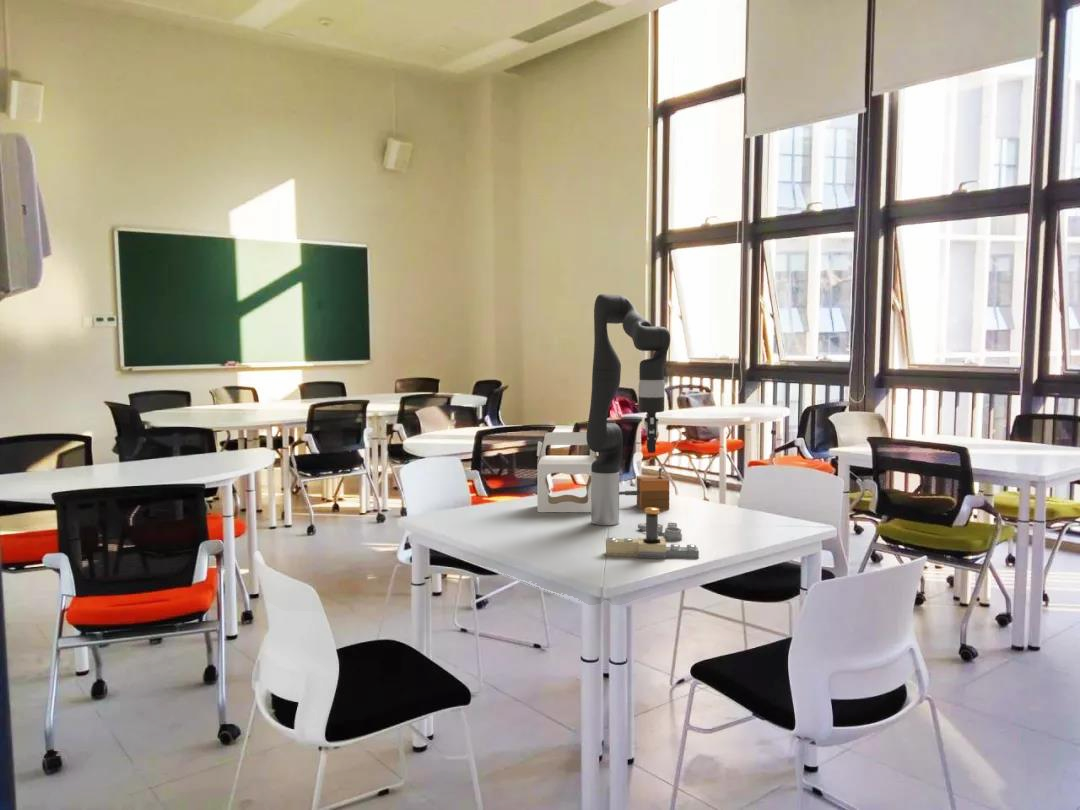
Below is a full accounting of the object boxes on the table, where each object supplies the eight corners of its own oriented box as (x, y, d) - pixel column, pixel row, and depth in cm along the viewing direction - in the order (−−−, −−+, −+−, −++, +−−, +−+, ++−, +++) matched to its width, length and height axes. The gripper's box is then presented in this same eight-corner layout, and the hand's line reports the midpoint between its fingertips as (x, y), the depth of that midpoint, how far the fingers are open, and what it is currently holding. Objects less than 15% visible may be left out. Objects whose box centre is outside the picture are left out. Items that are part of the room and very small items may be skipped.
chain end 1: (606, 550, 232) (606, 535, 231) (664, 552, 230) (664, 536, 230) (605, 557, 224) (605, 541, 224) (666, 559, 222) (666, 543, 222)
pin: (644, 553, 229) (644, 507, 228) (658, 553, 228) (658, 507, 227) (644, 556, 225) (644, 510, 224) (659, 557, 224) (659, 510, 223)
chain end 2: (637, 551, 231) (637, 541, 230) (696, 552, 229) (696, 542, 229) (638, 558, 223) (638, 547, 223) (699, 559, 221) (699, 549, 221)
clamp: (610, 505, 300) (610, 466, 299) (663, 504, 301) (663, 466, 300) (614, 510, 289) (614, 471, 288) (669, 510, 290) (669, 470, 289)
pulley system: (685, 532, 258) (639, 527, 262) (686, 518, 258) (640, 513, 262) (677, 557, 232) (625, 550, 236) (678, 541, 232) (626, 535, 236)
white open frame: (597, 505, 298) (597, 430, 296) (599, 513, 285) (599, 434, 283) (537, 505, 299) (537, 430, 297) (536, 513, 285) (536, 434, 284)
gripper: (665, 397, 227) (665, 454, 228) (663, 394, 241) (662, 448, 242) (638, 396, 228) (638, 454, 229) (638, 394, 242) (637, 447, 243)
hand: (651, 450), depth 235 cm, fingers open, 8 cm apart
